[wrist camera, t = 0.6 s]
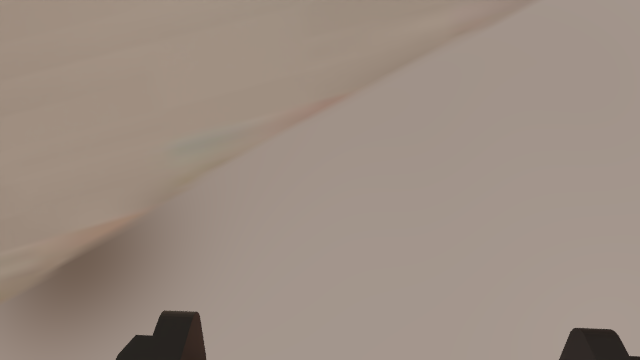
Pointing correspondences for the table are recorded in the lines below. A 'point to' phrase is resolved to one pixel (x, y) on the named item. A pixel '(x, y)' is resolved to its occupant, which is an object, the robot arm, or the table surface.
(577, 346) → the robot arm
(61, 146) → the table surface
